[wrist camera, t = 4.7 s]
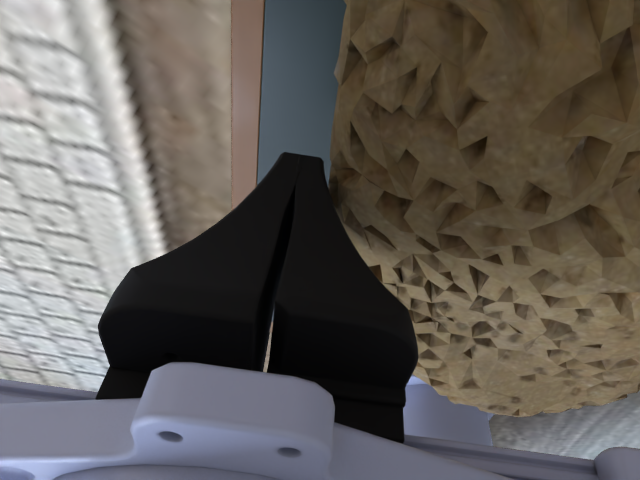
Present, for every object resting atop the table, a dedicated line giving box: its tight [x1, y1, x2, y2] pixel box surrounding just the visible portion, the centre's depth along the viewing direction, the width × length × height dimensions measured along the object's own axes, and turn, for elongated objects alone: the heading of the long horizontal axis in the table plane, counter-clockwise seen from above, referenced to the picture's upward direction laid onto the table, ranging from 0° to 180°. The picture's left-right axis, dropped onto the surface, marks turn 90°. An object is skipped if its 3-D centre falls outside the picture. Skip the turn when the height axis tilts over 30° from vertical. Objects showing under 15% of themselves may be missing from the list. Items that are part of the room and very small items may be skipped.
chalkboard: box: [231, 0, 347, 333], centre depth 17 cm, size 26×26×1 cm
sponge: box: [328, 0, 640, 417], centre depth 14 cm, size 13×8×20 cm
